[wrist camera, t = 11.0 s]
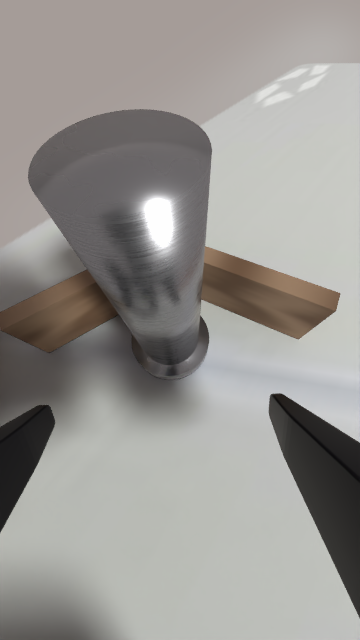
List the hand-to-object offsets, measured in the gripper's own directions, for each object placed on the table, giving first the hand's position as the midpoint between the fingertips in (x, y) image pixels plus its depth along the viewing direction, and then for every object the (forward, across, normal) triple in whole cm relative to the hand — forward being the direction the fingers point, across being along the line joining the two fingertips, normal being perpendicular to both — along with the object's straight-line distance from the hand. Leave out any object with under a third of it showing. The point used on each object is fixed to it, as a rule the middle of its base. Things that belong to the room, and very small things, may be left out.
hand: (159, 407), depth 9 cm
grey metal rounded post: (+9, 0, +1) cm, 9 cm away
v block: (+11, 0, -1) cm, 11 cm away
